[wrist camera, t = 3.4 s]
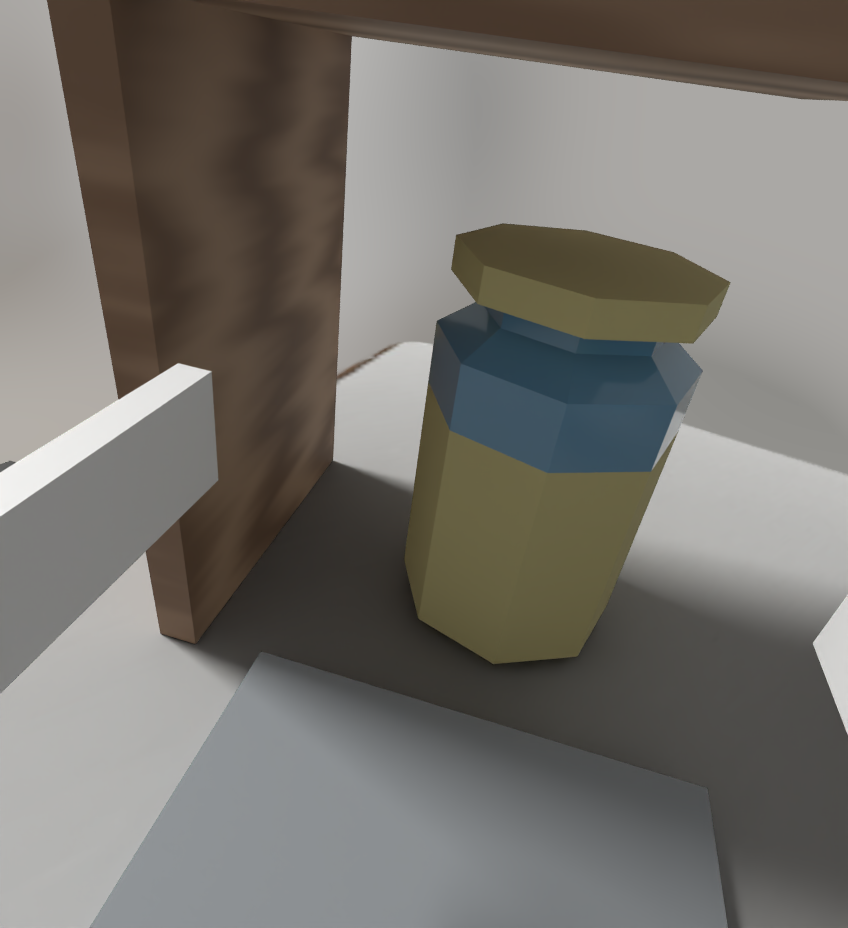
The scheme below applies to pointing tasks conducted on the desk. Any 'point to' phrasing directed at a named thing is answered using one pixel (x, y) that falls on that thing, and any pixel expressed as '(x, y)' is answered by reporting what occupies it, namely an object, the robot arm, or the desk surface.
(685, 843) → the mat
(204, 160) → the shelf
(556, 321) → the jar
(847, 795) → the desk surface
